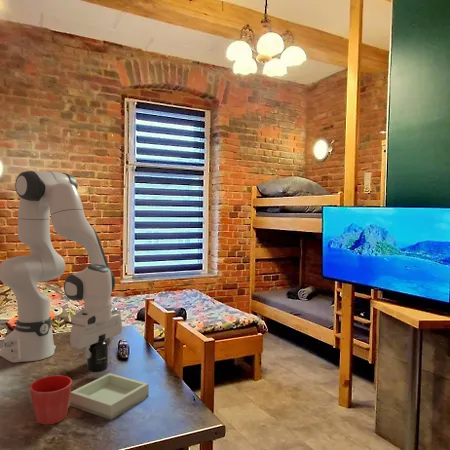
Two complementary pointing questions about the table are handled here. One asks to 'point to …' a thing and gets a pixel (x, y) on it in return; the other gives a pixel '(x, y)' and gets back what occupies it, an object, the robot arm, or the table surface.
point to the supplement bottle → (98, 356)
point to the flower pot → (51, 398)
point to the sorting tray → (109, 395)
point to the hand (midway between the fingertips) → (97, 353)
